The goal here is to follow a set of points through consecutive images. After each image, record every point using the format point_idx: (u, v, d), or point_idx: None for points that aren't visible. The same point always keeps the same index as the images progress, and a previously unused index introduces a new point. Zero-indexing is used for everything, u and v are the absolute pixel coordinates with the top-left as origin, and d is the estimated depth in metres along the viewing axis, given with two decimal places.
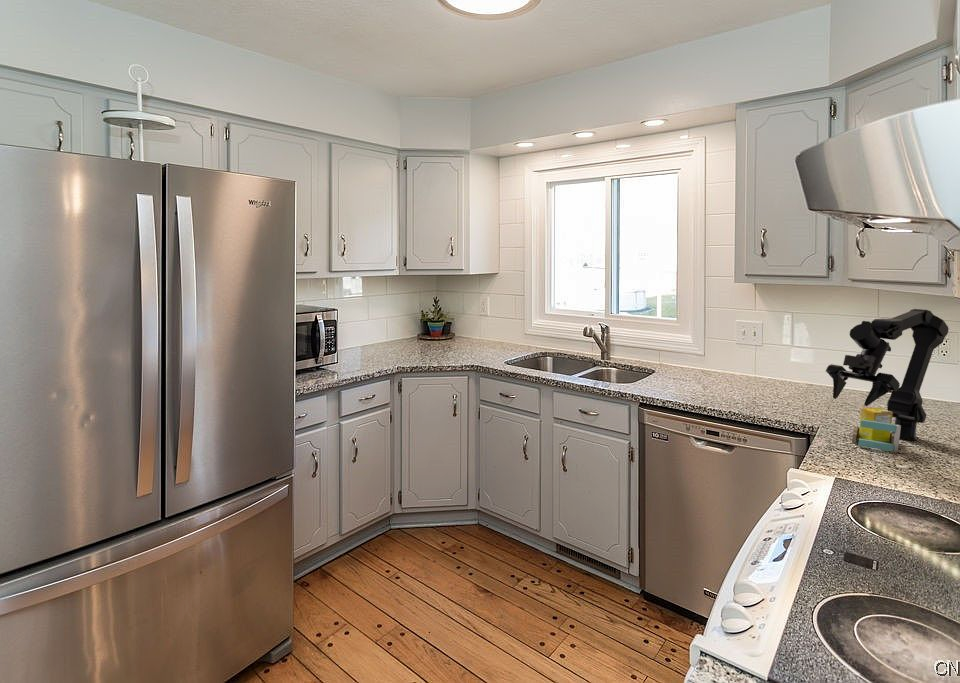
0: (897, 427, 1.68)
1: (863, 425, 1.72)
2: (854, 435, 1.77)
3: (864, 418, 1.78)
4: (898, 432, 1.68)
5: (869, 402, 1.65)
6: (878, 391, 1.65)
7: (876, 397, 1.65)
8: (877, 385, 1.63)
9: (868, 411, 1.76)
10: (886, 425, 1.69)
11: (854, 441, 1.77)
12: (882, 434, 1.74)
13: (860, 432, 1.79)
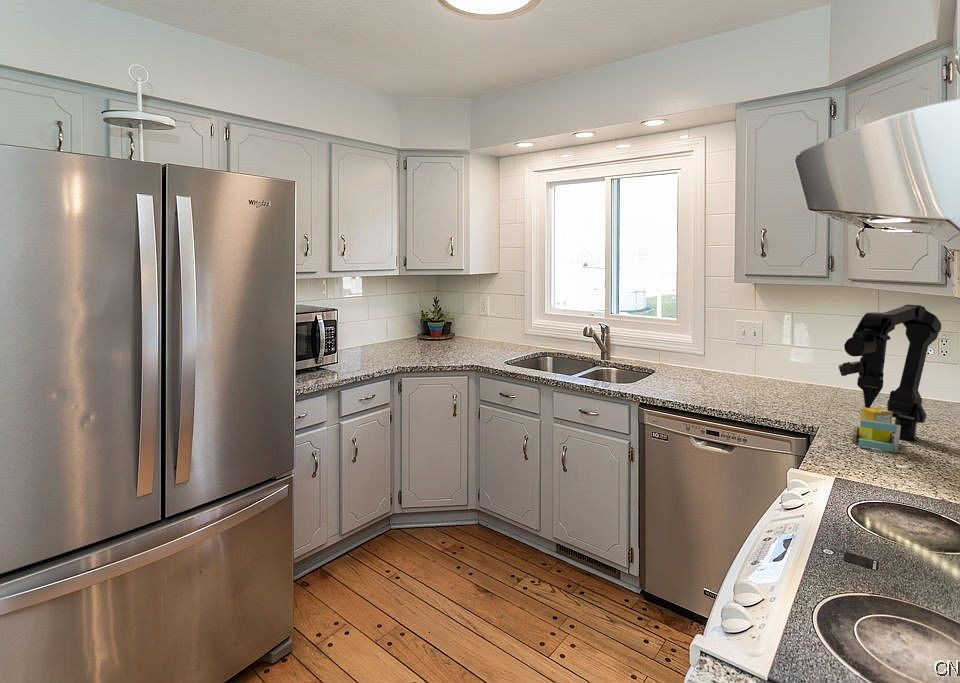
0: (897, 427, 1.68)
1: (863, 425, 1.72)
2: (854, 435, 1.77)
3: (864, 418, 1.78)
4: (898, 432, 1.68)
5: (868, 404, 1.69)
6: (871, 391, 1.68)
7: (872, 397, 1.68)
8: (860, 387, 1.69)
9: (868, 411, 1.76)
10: (886, 425, 1.69)
11: (854, 441, 1.77)
12: (882, 434, 1.74)
13: (860, 432, 1.79)
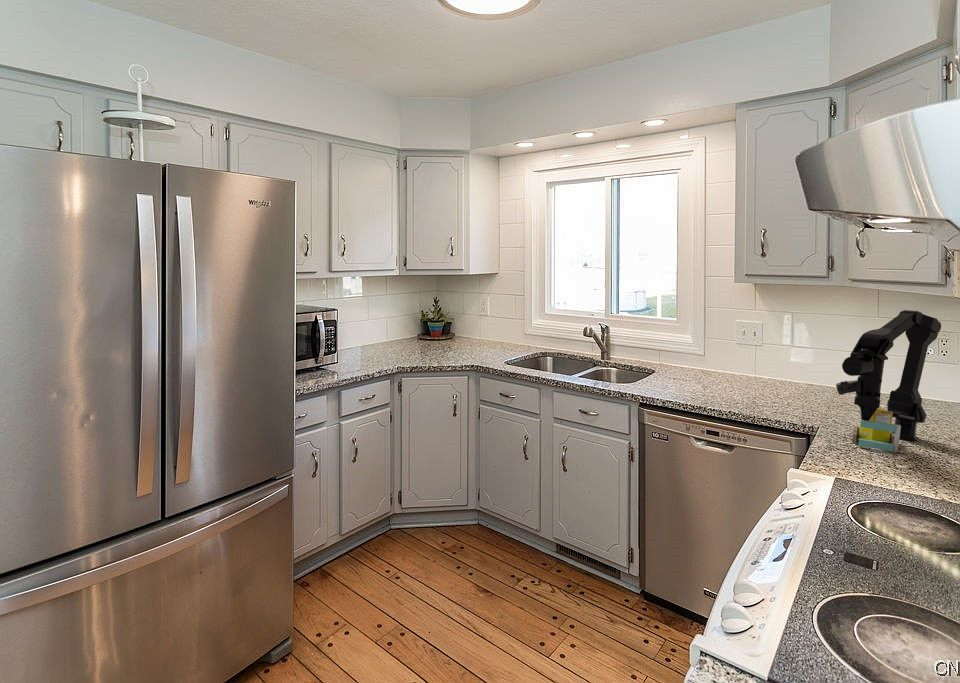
0: (897, 427, 1.68)
1: (863, 425, 1.72)
2: (854, 435, 1.77)
3: None
4: (898, 432, 1.68)
5: None
6: (868, 408, 1.72)
7: (869, 414, 1.72)
8: (857, 404, 1.73)
9: None
10: (886, 425, 1.69)
11: (854, 441, 1.77)
12: (883, 434, 1.74)
13: (860, 432, 1.79)
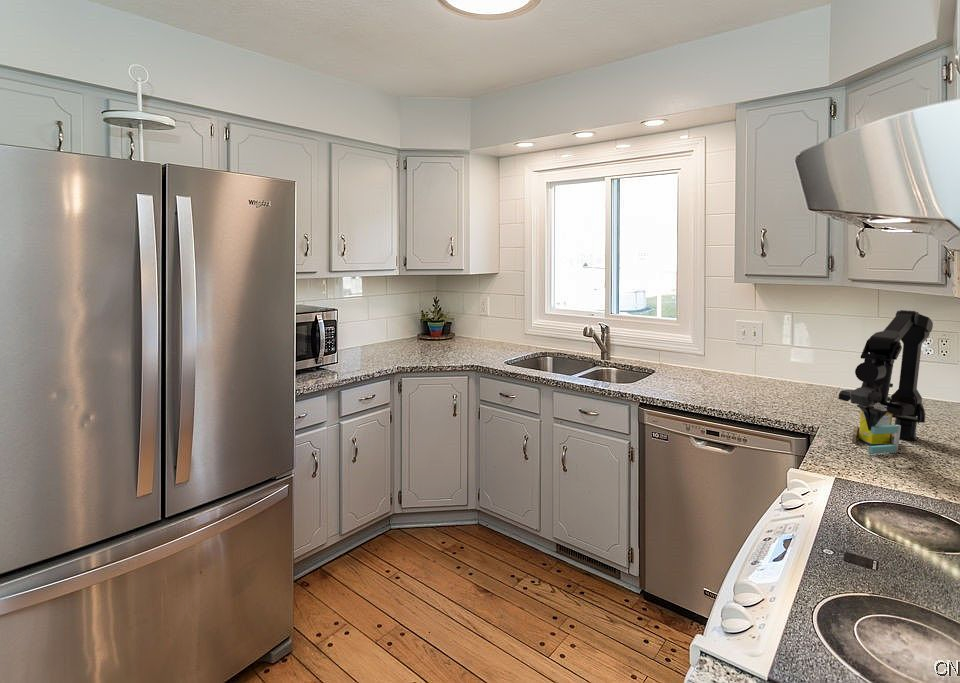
0: (899, 427, 1.67)
1: (876, 432, 1.65)
2: (854, 435, 1.77)
3: (864, 418, 1.78)
4: (899, 432, 1.68)
5: None
6: (878, 414, 1.66)
7: (878, 420, 1.66)
8: (874, 412, 1.64)
9: None
10: (892, 427, 1.67)
11: (854, 441, 1.77)
12: (883, 434, 1.74)
13: (860, 432, 1.79)
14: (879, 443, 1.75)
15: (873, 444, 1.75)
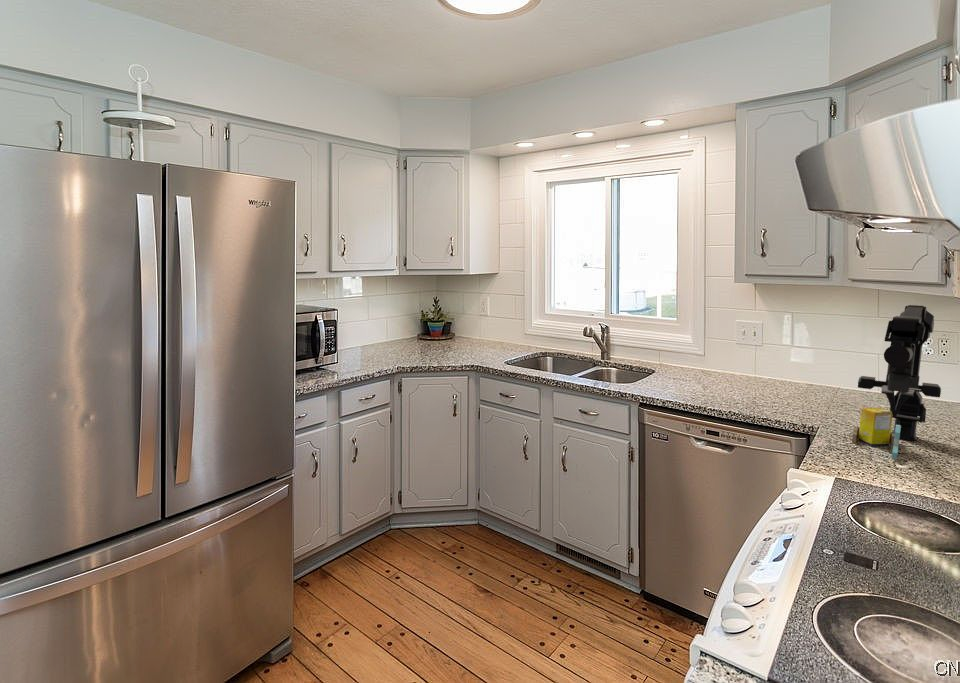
0: None
1: (899, 437, 1.61)
2: (854, 435, 1.77)
3: (864, 418, 1.78)
4: None
5: (898, 411, 1.61)
6: None
7: None
8: (906, 397, 1.58)
9: (868, 411, 1.76)
10: None
11: (854, 441, 1.77)
12: (883, 434, 1.74)
13: (860, 432, 1.79)
14: (879, 443, 1.75)
15: (873, 444, 1.75)
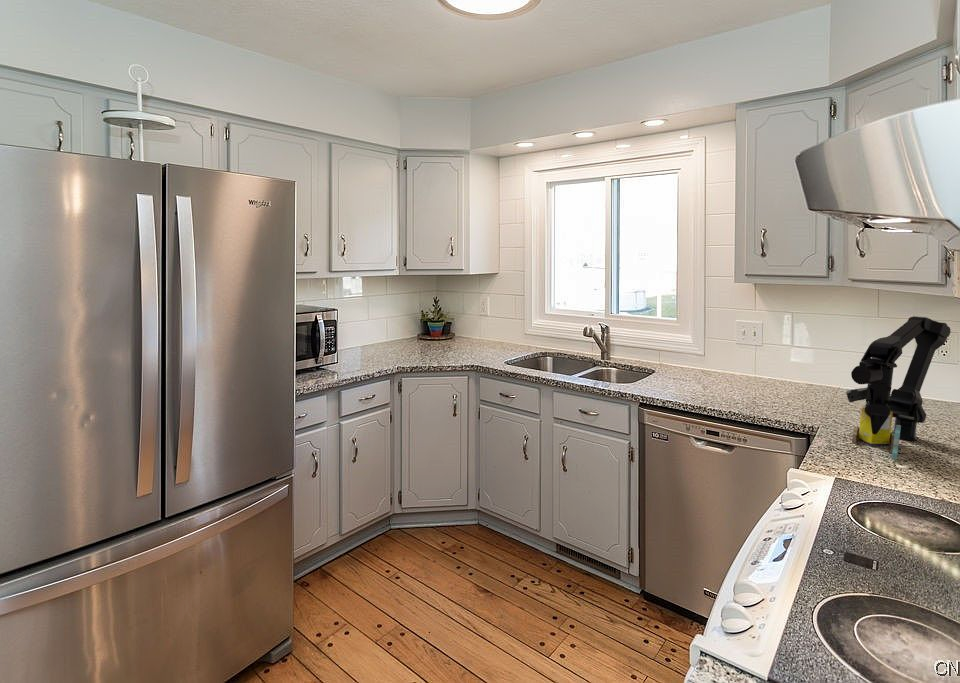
0: None
1: (899, 437, 1.61)
2: (854, 435, 1.77)
3: (864, 418, 1.78)
4: None
5: (875, 430, 1.73)
6: (878, 418, 1.72)
7: (879, 424, 1.72)
8: (867, 414, 1.73)
9: None
10: (900, 429, 1.65)
11: (854, 441, 1.77)
12: (882, 434, 1.74)
13: (860, 432, 1.79)
14: (879, 443, 1.75)
15: (873, 444, 1.75)
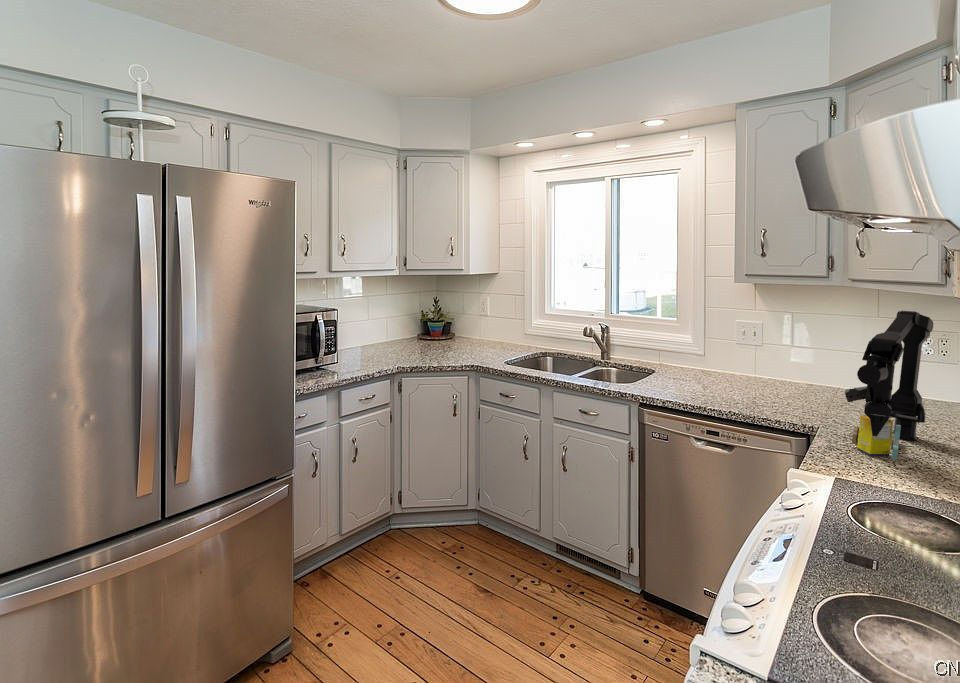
0: None
1: (899, 437, 1.61)
2: (854, 435, 1.77)
3: (863, 426, 1.68)
4: None
5: (875, 432, 1.63)
6: (879, 419, 1.62)
7: (879, 426, 1.62)
8: (867, 415, 1.63)
9: (867, 419, 1.67)
10: (900, 429, 1.65)
11: (854, 441, 1.77)
12: (882, 443, 1.65)
13: (859, 441, 1.70)
14: (878, 453, 1.65)
15: (872, 454, 1.65)
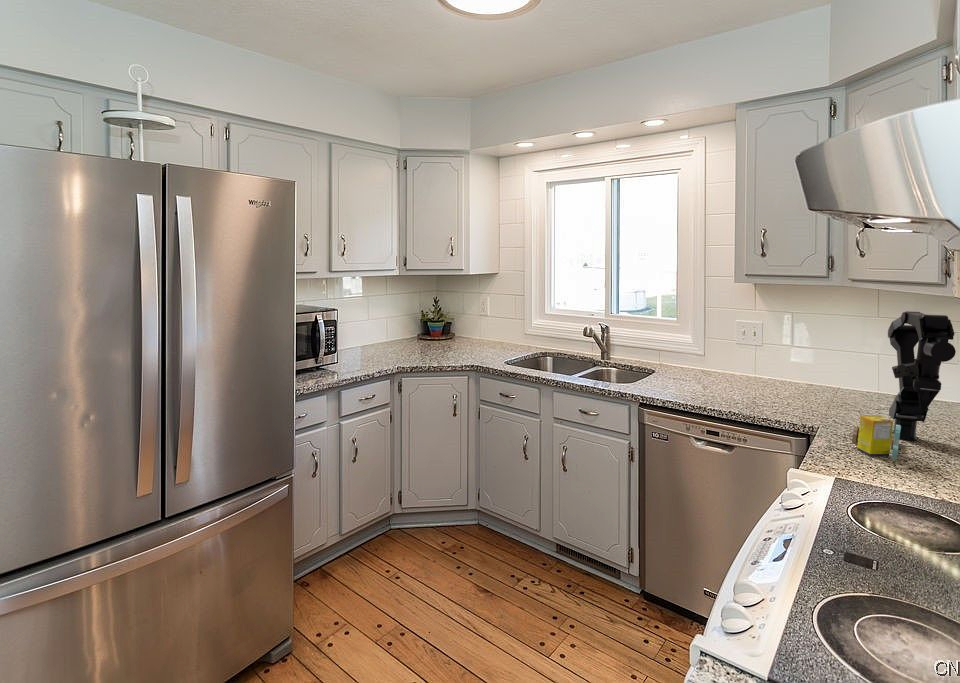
0: None
1: (899, 437, 1.61)
2: (854, 435, 1.77)
3: (863, 426, 1.68)
4: None
5: (924, 406, 1.67)
6: (928, 394, 1.66)
7: (928, 400, 1.66)
8: (916, 390, 1.67)
9: (867, 419, 1.67)
10: (900, 429, 1.65)
11: (854, 441, 1.77)
12: (882, 443, 1.65)
13: (859, 441, 1.70)
14: (878, 453, 1.65)
15: (872, 454, 1.65)
